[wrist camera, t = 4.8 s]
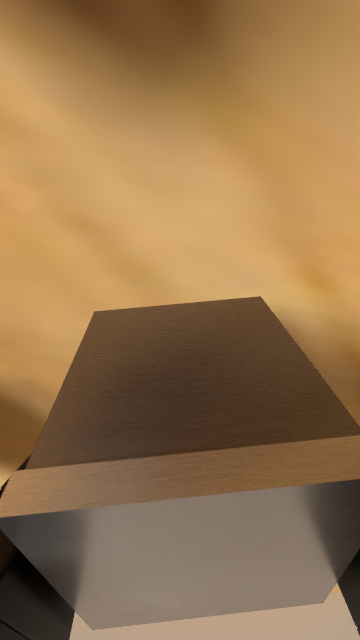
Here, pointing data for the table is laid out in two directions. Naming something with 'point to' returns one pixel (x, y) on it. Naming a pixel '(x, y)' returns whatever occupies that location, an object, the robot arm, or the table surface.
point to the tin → (189, 470)
